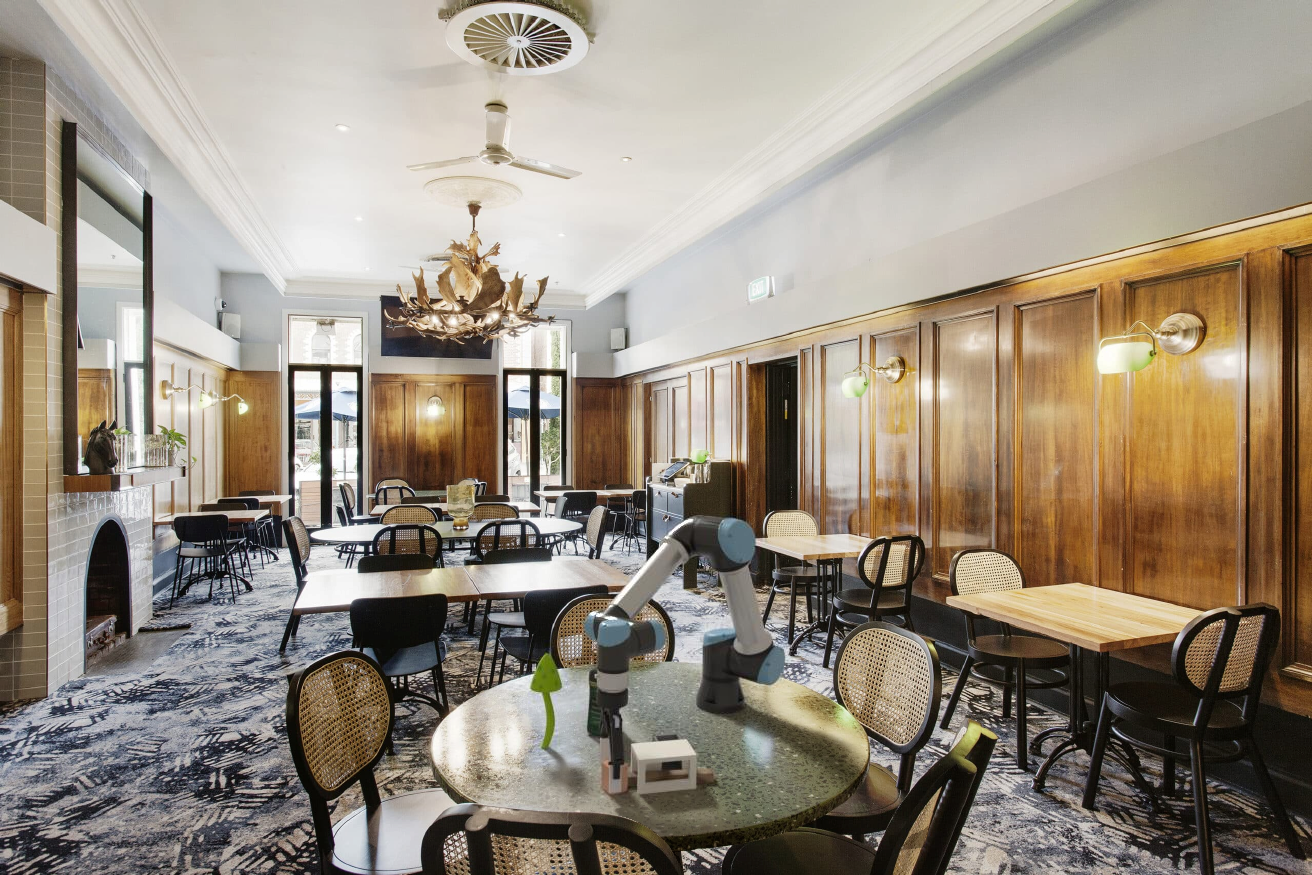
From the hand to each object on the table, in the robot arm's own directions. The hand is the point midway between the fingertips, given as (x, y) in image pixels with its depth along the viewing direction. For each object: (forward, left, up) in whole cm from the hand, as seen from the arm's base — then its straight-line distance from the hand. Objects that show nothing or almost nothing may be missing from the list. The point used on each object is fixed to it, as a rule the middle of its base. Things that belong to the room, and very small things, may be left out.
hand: (609, 777), depth 167 cm
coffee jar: (-4, -32, -3) cm, 33 cm away
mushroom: (+13, -25, -3) cm, 28 cm away
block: (-1, 0, -2) cm, 3 cm away
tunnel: (-13, -3, -2) cm, 14 cm away
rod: (-14, 0, -3) cm, 15 cm away
